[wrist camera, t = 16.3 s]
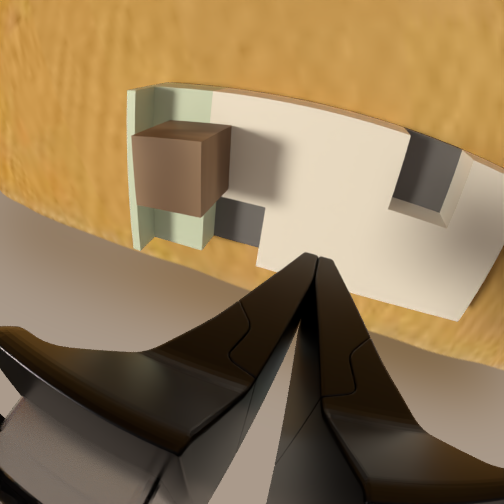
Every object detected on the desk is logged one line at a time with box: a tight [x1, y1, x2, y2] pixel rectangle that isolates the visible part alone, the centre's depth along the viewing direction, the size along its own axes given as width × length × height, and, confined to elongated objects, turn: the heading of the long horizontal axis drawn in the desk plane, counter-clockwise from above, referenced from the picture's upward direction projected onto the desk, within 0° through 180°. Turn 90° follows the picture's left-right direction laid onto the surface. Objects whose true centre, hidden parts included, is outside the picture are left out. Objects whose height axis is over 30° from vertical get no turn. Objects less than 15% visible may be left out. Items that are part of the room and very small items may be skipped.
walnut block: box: [131, 120, 232, 218], centre depth 17 cm, size 4×4×4 cm
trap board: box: [127, 82, 504, 322], centre depth 18 cm, size 24×11×4 cm, turn 83°
